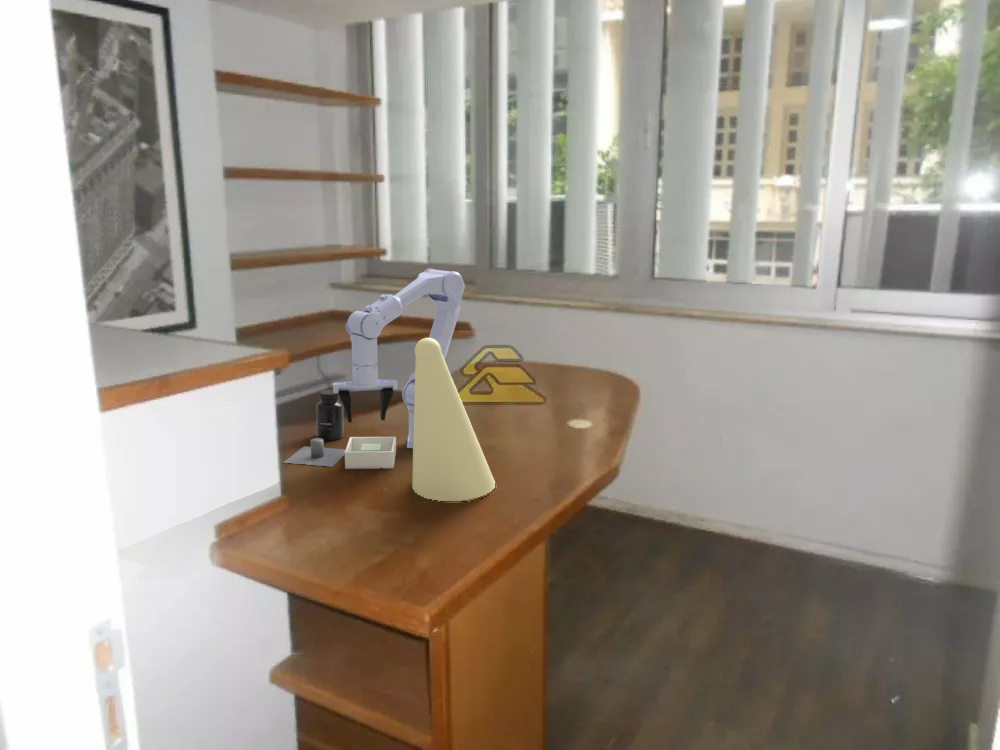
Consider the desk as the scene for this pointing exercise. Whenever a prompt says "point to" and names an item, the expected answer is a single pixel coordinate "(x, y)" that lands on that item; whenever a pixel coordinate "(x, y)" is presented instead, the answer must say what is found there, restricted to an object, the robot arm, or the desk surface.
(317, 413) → the supplement bottle
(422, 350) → the cone light
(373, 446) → the sage block
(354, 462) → the white open box
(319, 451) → the gray lid
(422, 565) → the desk surface
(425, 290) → the robot arm
